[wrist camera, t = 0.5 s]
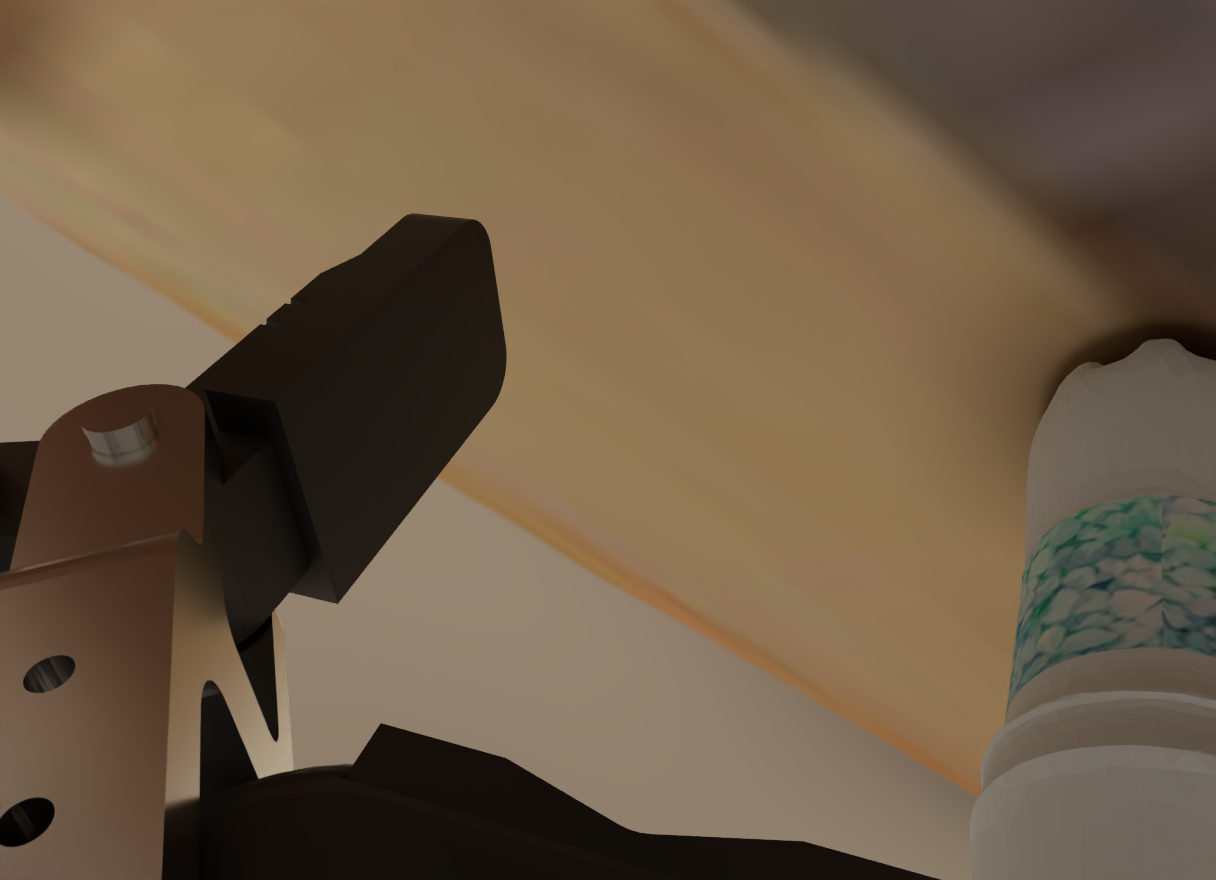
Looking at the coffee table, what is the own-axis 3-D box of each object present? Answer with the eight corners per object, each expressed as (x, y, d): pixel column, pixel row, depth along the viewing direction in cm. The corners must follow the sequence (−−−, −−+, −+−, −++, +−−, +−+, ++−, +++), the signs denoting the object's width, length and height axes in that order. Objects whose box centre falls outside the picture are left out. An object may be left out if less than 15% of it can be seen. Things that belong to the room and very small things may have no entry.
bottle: (1035, 509, 33) (946, 1286, 18) (1017, 316, 29) (888, 1100, 15) (1301, 513, 30) (1440, 1450, 15) (1318, 299, 26) (1520, 1266, 12)
